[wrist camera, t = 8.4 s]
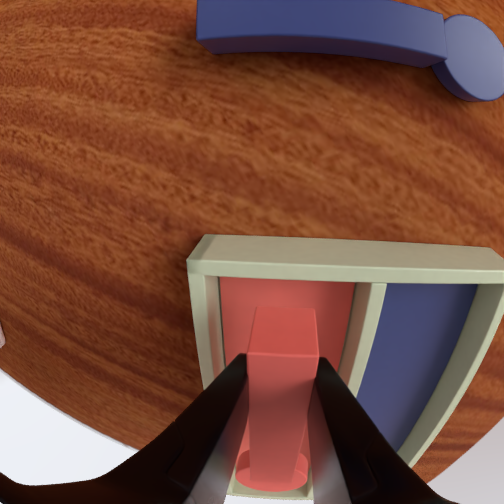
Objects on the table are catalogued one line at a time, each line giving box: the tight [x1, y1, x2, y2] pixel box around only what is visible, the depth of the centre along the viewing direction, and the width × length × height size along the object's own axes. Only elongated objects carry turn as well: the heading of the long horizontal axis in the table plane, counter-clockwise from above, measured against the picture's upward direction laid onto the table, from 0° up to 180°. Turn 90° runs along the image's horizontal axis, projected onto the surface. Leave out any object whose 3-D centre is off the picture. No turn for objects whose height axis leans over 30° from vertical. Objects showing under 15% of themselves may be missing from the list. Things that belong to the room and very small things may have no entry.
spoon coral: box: [235, 306, 319, 492], centre depth 11 cm, size 12×4×2 cm, turn 0°
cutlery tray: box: [186, 234, 504, 500], centre depth 14 cm, size 20×13×2 cm, turn 0°
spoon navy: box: [196, 0, 504, 102], centre depth 8 cm, size 12×4×2 cm, turn 90°
